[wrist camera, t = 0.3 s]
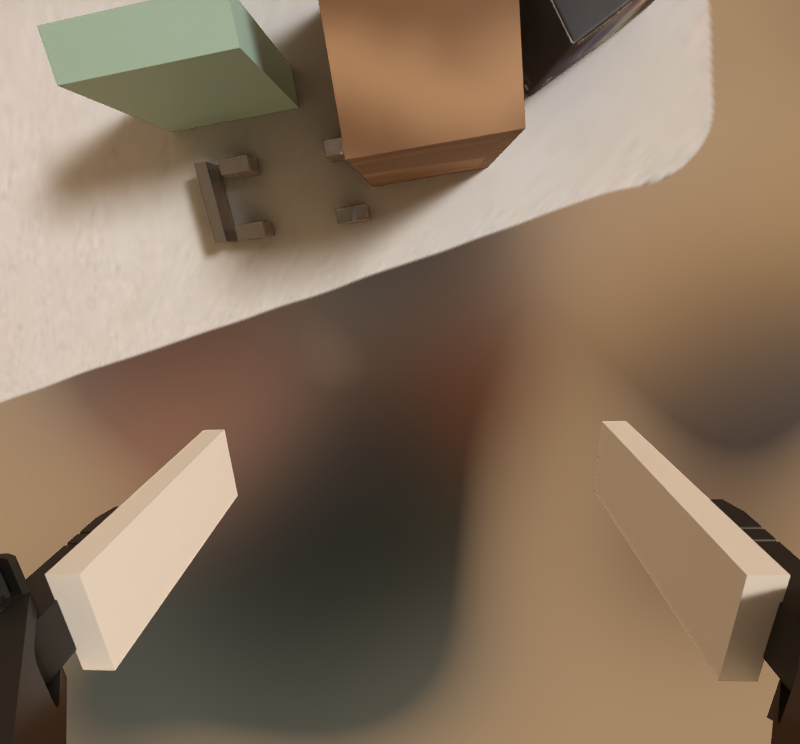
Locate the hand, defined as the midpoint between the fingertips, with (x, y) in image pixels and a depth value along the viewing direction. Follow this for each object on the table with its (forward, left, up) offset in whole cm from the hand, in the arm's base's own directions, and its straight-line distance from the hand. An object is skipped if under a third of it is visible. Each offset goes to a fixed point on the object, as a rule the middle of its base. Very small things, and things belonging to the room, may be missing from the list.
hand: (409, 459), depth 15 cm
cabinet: (-19, +3, -27) cm, 33 cm away
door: (-20, -13, -27) cm, 36 cm away
